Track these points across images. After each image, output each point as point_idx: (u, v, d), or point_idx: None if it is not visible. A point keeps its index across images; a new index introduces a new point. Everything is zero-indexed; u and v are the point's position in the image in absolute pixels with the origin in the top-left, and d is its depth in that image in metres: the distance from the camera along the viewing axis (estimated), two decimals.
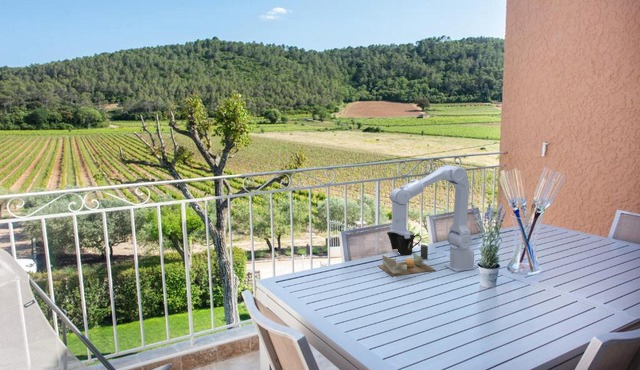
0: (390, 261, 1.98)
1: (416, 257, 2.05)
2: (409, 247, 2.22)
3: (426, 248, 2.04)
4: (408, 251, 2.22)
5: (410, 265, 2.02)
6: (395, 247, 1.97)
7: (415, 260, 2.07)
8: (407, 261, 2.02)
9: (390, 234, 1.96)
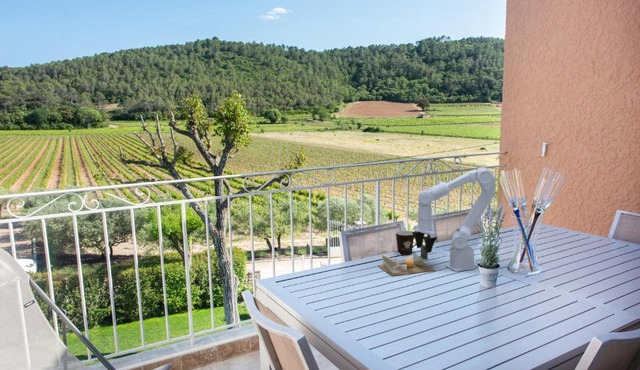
0: (390, 261, 1.98)
1: (416, 257, 2.05)
2: (409, 247, 2.22)
3: None
4: (408, 251, 2.22)
5: (410, 265, 2.02)
6: (420, 246, 2.09)
7: (415, 260, 2.07)
8: (407, 261, 2.02)
9: (415, 233, 2.07)
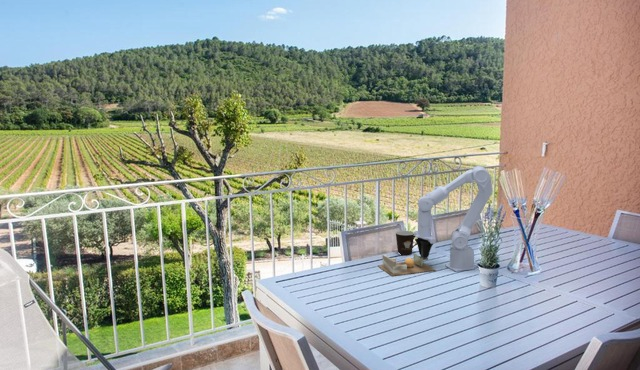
0: (390, 261, 1.98)
1: (416, 257, 2.05)
2: (409, 247, 2.22)
3: None
4: (408, 251, 2.22)
5: (410, 265, 2.02)
6: None
7: (415, 260, 2.07)
8: (407, 261, 2.02)
9: (418, 240, 2.06)
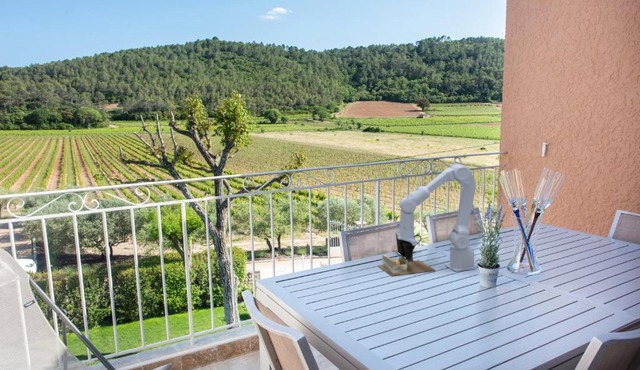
0: (390, 261, 1.98)
1: (401, 259, 2.03)
2: None
3: None
4: None
5: (397, 263, 2.00)
6: None
7: (400, 262, 2.04)
8: None
9: (400, 242, 2.03)
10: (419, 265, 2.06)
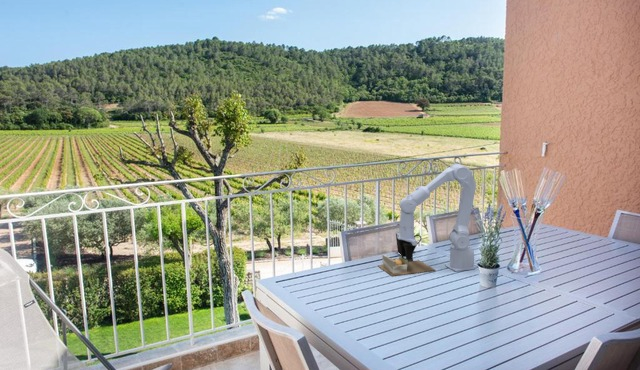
0: (390, 261, 1.98)
1: (401, 259, 2.03)
2: None
3: None
4: None
5: (401, 264, 2.01)
6: (405, 254, 2.05)
7: None
8: None
9: (400, 242, 2.04)
10: (419, 265, 2.06)
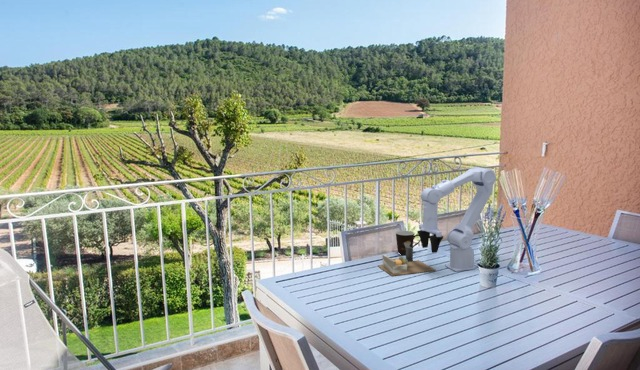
0: (390, 261, 1.98)
1: (401, 259, 2.03)
2: None
3: (411, 250, 2.02)
4: None
5: (400, 264, 2.01)
6: (425, 245, 2.01)
7: None
8: None
9: (420, 233, 2.00)
10: (419, 265, 2.06)
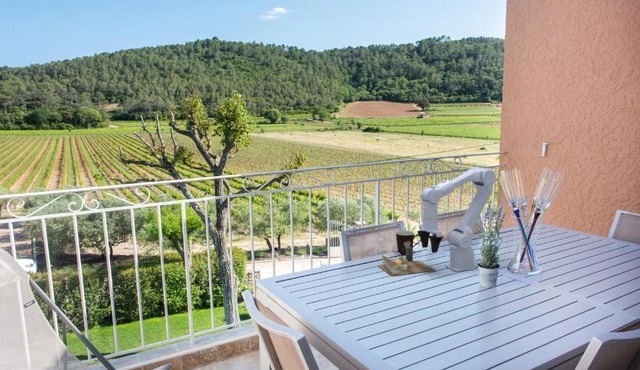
0: (390, 261, 1.98)
1: (401, 259, 2.03)
2: None
3: (411, 250, 2.02)
4: None
5: (400, 264, 2.01)
6: (425, 245, 2.01)
7: None
8: None
9: (420, 233, 2.00)
10: (419, 265, 2.06)
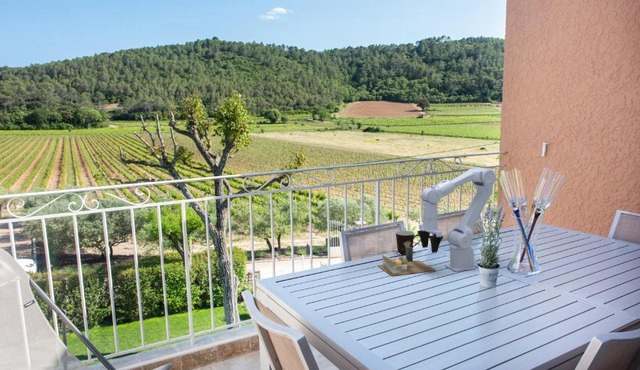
0: (390, 261, 1.98)
1: (401, 259, 2.03)
2: None
3: (411, 250, 2.02)
4: None
5: (400, 264, 2.01)
6: (425, 245, 2.01)
7: None
8: None
9: (420, 233, 2.00)
10: (419, 265, 2.06)
